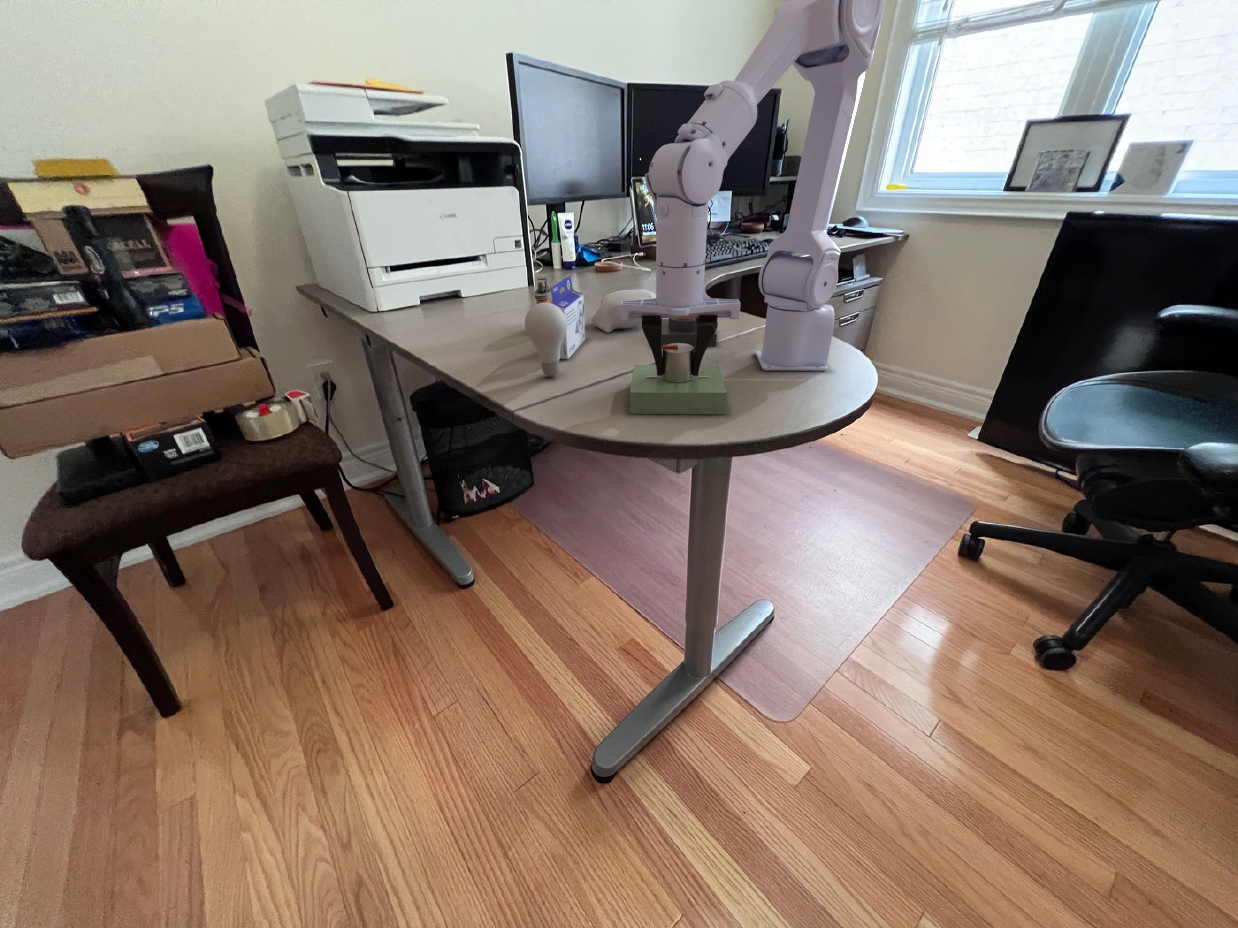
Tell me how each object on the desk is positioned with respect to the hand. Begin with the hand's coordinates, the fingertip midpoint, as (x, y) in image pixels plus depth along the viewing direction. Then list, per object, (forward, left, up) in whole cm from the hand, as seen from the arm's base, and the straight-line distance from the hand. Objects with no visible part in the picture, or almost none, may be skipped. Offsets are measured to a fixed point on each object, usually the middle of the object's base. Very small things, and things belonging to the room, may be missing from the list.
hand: (677, 373), depth 65 cm
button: (-2, -27, 0) cm, 27 cm away
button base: (-2, -27, -4) cm, 27 cm away
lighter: (+25, -33, -4) cm, 42 cm away
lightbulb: (+19, -8, -4) cm, 21 cm away
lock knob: (0, 0, -1) cm, 1 cm away
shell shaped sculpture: (+10, -36, -4) cm, 38 cm away
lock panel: (0, 0, -4) cm, 4 cm away
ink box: (+18, -21, -4) cm, 28 cm away
